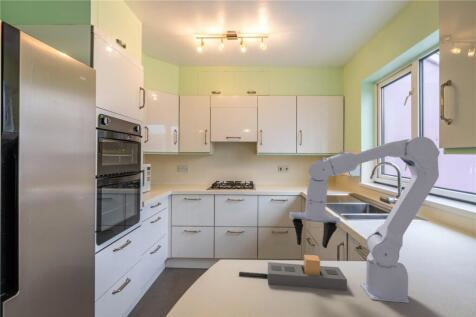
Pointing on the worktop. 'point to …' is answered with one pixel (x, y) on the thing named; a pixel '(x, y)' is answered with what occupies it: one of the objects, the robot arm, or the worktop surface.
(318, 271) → the orange rectangular block
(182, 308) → the worktop surface
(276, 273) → the power strip
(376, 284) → the robot arm
